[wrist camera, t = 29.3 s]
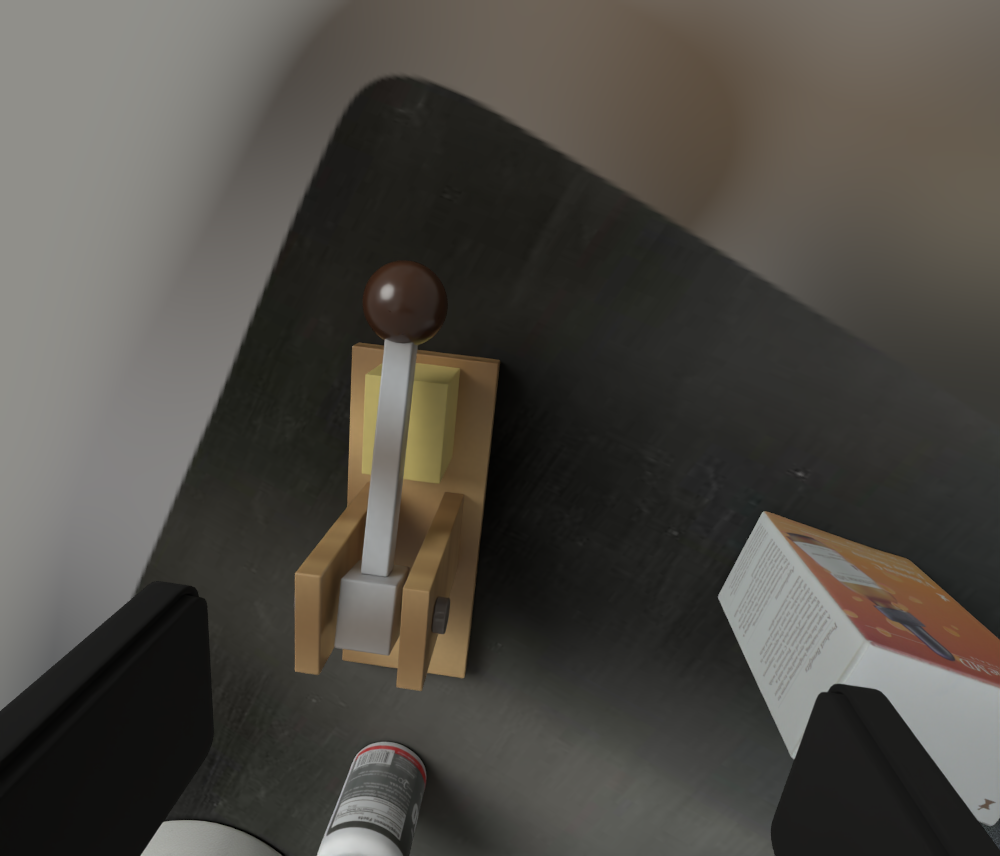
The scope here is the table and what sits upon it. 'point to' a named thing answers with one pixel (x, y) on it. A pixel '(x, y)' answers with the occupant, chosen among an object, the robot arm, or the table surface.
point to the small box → (868, 646)
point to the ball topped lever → (388, 453)
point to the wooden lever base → (410, 538)
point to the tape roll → (204, 841)
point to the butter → (419, 421)
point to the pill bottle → (377, 804)
